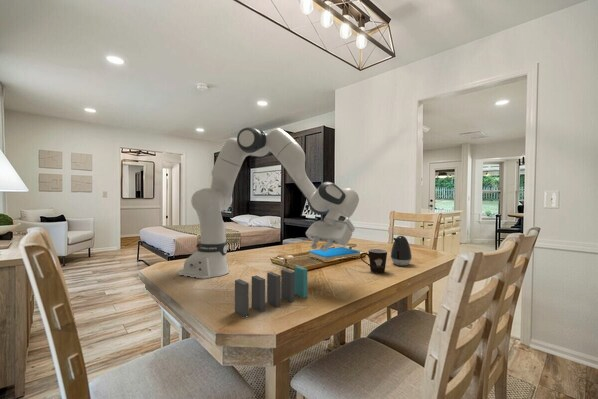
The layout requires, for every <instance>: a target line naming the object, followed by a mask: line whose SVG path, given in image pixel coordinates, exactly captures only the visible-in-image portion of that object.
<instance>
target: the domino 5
mask: <svg viewBox="0 0 598 399" xmlns="http://www.w3.org/2000/svg"><path fill="white" fill-rule="evenodd" d="M293 272H295V289H294V295H295V296H298V297H300V298H302V299H304V298H308V268H306V267H303V266H299V265H297V266H294V268H293Z"/></svg>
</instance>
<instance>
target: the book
mask: <svg viewBox="0 0 598 399" xmlns="http://www.w3.org/2000/svg"><path fill="white" fill-rule="evenodd" d="M307 253H308V254H309V255H311V256H313V257H316V258H319V259H322V260H331V259H335V258H342V257H349V256H361V254H360V253H361V251H359V250H355V249H351V248H348V247H344V246H339V247H331V248H330V247H329V248H327V250H326V251H325V252H324V251H322V250H321V249H312V250H308V252H307ZM359 258H360V257H358V258H357V259H359ZM360 259H361V258H360Z"/></svg>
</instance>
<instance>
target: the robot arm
mask: <svg viewBox="0 0 598 399" xmlns="http://www.w3.org/2000/svg"><path fill="white" fill-rule="evenodd" d="M270 154H273V156H274V157H275V158H276V159H277V160H278V162H280V164H281V165H282V166H283V167H284V169H285V170H286V171H287V173H288V176H289V177H290V178H291V180H292V181H293V183H294V184H295V185H296V187H297V188H298V190H299V191H300V192H301V193H302V195H303V196H304V197H305V200H306V201H307V203H308V206H309V208H310V210H311V212H313V213H314V214H316V215H319V216H323V215H325V216H324V218H323V220H320V219H318V220H317V221H314V222H313V223H312V224H311V225H310V226H309V227H308V228H307V230H306V231H305V236H306V237H307V238H308V239H309V240H311V241H312V243H311V245H310V248H311V249H312V250H317V248H318V245H317V243H319V242H324V243H325V244H322V245H321V247H320V249H319V250H322V251H324V252H325V251H326V250H327V249H329V248H330V247H332V246H333V245H340V246H346V245H347V244H348V243H349V242H350V240H351V238H352V235H353V233H354V232H355V230H356V228H355V226H354V224H353V223H352V221H351V220H350V218H351V217H352V216H353V214H354V213H355V211H356V209H357V207H358V205H359V201H360V198H359V195H358V193H357V192H356V191H355V190H354V189H352V188H349V187H340V186H339V185H336V184H335V183H334V182H331V181H324V182H322V183H321V184H319V186H318V188H317V187H316V186H315V185H314V184H313V182H312V181H311V180H310V179H309V177H308V175H307V173H306V152H304V150H303V148H302V147H301V145H300V144H299V143H298V142H297V141H296V139H294V137H292V136H291V135H290V134H289V133H288V132H286V131H285V130H284V129H283V128H280V127H278V128H273V129H272V130H270V131H268V133H265V131H264V130H262V129H258V128H255V127H243V128H242V129H241V130H240V131H239V132H238V134H237V136H236V137H230V138H228V139H227V140H226V141H225V143H224V144H223V146H222V147H221V149H220V152H219V154H218V155H217V158H216V159H215V160H216V161H215V163H214V165H213V168H212V169H211V177H212V178H211V185H210V187H209V188H207V187H206V188H205V187H204V188H201V189H198V190H196V191H195V192H194V193H193V194H192V196H191V200H190V202H191V206H192V208H193V209H194V210H195V212H196V214H197V217H198V220H199V226H200V242H199V243H197V244H195V245H194V246H195V247H194V248H197V249H196V251H194V253H192V254H191V255H189V257H187V258H186V259H185V261H184V263H183V267H182V269H180V270H178V272H177V275H178V274H179V275H178V276H180V275H184V276H183V277H187V276H190V277H189V278H194V277H196V279H203V280H204V279H209V278H215V277H221V276H224V275H227V274H229V272H230V269H229V264H228V259H227V258H228V257H227V251H228V243H227V239H226V238H227V234H226V233H227V231H226V229H227V227H226V226H227V225H226V223H225V222H224V220H223V215H222V212H224V211H226V210H228V208H229V207H231V205H232V203H233V192H234V187H235V183H236V180H237V178H238V174H239V173H240V171H241V168H242V165H243V163H244V161H245V159H246V157H252V158H266V157H268V156H269V155H270Z"/></svg>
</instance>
